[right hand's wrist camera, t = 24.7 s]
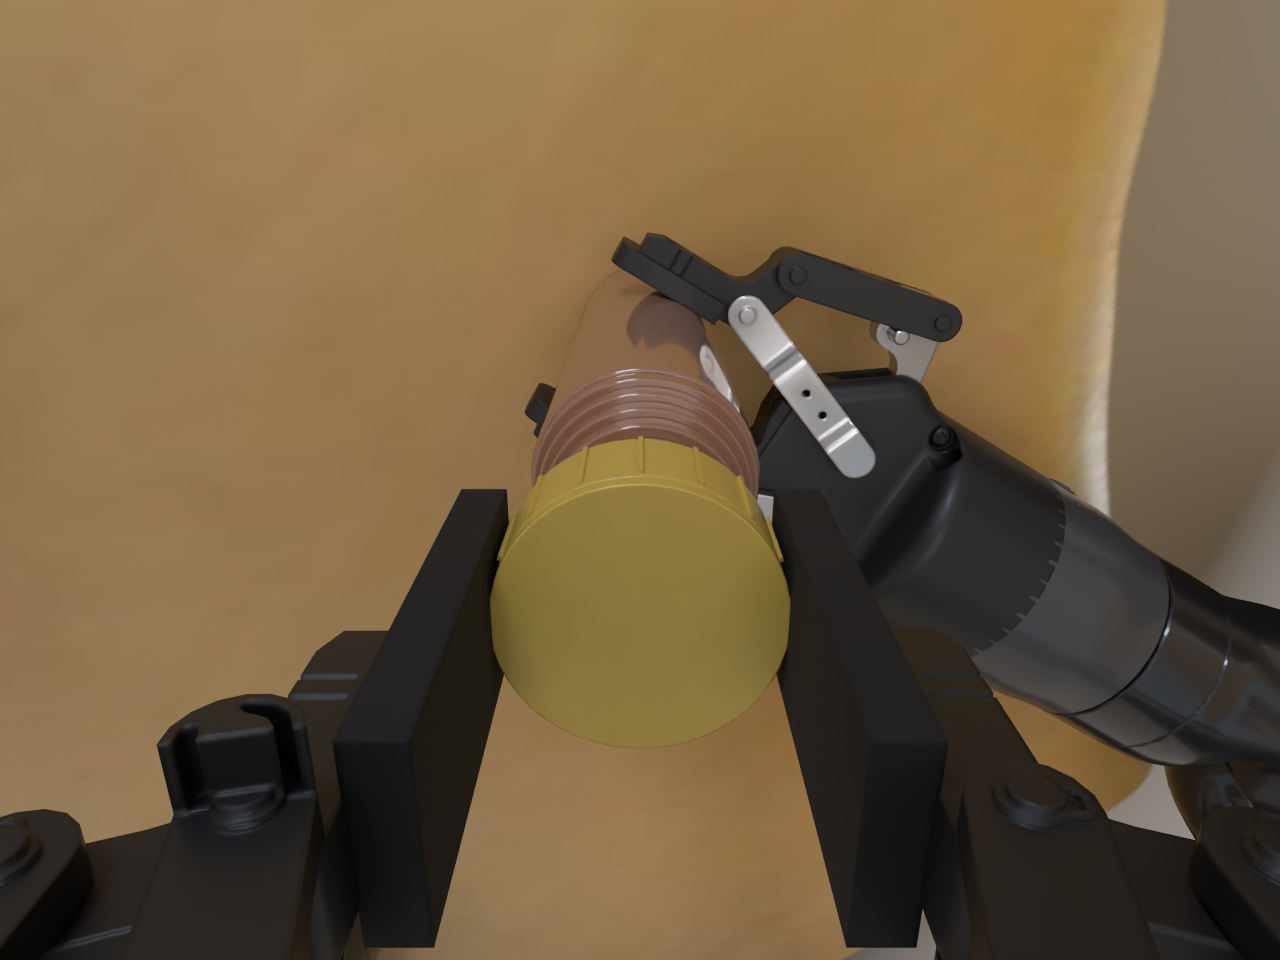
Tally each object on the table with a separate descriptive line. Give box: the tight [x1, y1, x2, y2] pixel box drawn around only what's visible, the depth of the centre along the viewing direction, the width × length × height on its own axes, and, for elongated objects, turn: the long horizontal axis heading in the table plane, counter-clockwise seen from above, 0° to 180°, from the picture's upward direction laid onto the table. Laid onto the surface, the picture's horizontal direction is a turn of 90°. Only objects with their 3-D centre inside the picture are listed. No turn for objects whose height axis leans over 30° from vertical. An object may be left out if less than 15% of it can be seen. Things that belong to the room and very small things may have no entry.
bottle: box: [532, 269, 760, 501], centre depth 24 cm, size 5×5×22 cm
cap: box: [490, 436, 790, 748], centre depth 14 cm, size 5×5×2 cm
